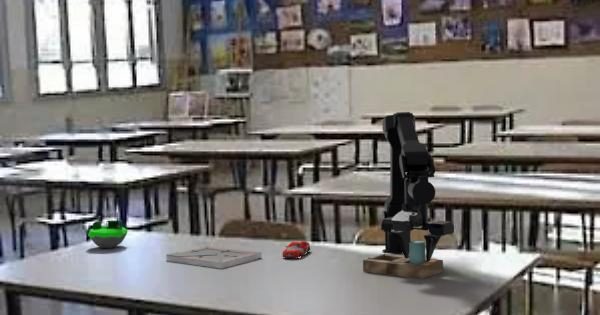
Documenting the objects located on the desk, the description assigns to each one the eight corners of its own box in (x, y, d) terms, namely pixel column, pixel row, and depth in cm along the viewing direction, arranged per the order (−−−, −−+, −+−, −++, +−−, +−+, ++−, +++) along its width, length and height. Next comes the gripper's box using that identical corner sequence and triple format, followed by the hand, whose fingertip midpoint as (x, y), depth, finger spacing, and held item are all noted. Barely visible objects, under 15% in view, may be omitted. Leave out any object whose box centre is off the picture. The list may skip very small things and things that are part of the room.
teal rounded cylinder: (406, 273, 242) (406, 243, 242) (415, 271, 245) (414, 240, 245) (420, 275, 240) (419, 244, 239) (428, 272, 243) (427, 241, 242)
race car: (298, 261, 265) (297, 246, 265) (279, 260, 267) (279, 246, 267) (313, 251, 278) (312, 238, 277) (295, 251, 279) (295, 237, 279)
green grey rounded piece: (131, 244, 300) (130, 209, 299) (121, 250, 288) (120, 214, 287) (94, 244, 301) (93, 210, 300) (82, 250, 289) (81, 215, 289)
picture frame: (166, 263, 270) (221, 271, 257) (166, 254, 270) (221, 261, 257) (207, 253, 283) (261, 260, 270) (206, 245, 283) (261, 251, 269)
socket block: (363, 271, 247) (362, 258, 247) (384, 264, 255) (384, 252, 255) (422, 278, 236) (422, 265, 236) (443, 271, 244) (442, 258, 243)
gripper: (367, 200, 241) (369, 261, 242) (431, 205, 229) (432, 269, 230) (392, 195, 249) (393, 253, 251) (454, 199, 237) (455, 260, 239)
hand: (417, 259), depth 242 cm, fingers open, 6 cm apart
